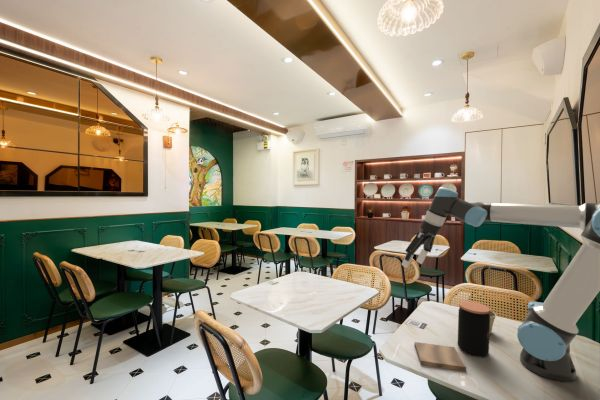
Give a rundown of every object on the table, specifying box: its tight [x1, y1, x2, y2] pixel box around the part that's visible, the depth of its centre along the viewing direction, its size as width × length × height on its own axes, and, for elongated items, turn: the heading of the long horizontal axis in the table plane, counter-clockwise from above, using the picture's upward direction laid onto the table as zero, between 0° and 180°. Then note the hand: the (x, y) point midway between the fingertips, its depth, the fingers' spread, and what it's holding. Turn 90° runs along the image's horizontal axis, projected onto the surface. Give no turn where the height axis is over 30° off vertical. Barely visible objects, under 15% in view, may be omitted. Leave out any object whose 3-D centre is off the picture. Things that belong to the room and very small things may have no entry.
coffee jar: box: [457, 300, 491, 358], centre depth 110 cm, size 11×11×18 cm
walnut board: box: [414, 341, 467, 372], centre depth 105 cm, size 15×13×2 cm
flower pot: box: [489, 310, 497, 335], centre depth 126 cm, size 9×9×9 cm
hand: (411, 264), depth 122 cm, fingers open, 13 cm apart
